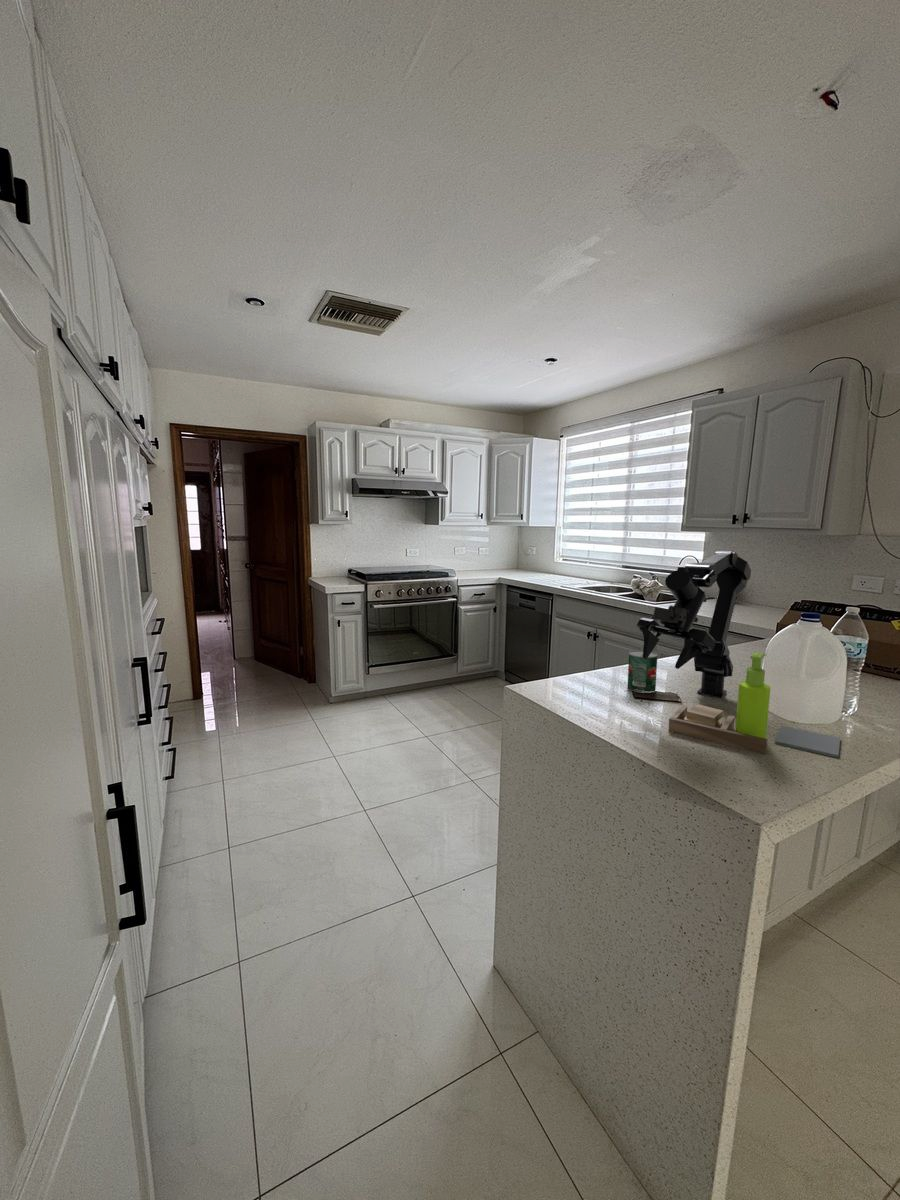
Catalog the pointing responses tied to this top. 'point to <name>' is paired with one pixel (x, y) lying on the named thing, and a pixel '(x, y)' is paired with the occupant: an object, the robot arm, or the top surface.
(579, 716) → the top surface
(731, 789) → the top surface
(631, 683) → the canned tomato
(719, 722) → the offcut stack
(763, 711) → the soap dispenser
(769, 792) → the top surface
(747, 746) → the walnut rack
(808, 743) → the slate mat
